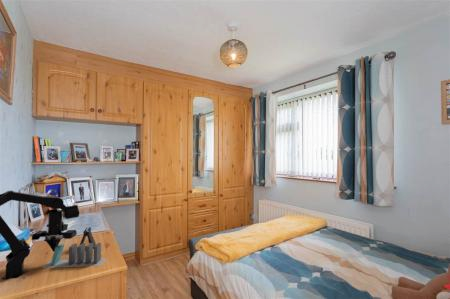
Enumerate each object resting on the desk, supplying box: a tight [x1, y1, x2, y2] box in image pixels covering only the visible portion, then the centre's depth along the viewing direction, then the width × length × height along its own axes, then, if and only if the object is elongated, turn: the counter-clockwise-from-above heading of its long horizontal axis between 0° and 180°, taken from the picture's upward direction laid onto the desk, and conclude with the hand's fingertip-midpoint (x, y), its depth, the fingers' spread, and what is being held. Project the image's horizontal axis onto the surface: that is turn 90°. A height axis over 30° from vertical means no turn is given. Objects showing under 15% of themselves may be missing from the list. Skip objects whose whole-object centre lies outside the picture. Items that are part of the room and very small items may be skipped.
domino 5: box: [93, 242, 102, 264], centre depth 122 cm, size 5×2×9 cm, turn 7°
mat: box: [41, 257, 108, 269], centre depth 120 cm, size 8×28×1 cm, turn 97°
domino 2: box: [68, 243, 78, 265], centre depth 120 cm, size 5×2×9 cm, turn 7°
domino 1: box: [51, 243, 65, 266], centre depth 119 cm, size 5×2×9 cm, turn 8°
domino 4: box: [85, 243, 94, 264], centre depth 121 cm, size 5×2×9 cm, turn 7°
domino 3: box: [77, 242, 86, 265], centre depth 121 cm, size 5×2×9 cm, turn 7°
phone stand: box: [79, 226, 97, 250], centre depth 139 cm, size 9×6×12 cm, turn 110°
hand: (54, 251), depth 119 cm, fingers closed
